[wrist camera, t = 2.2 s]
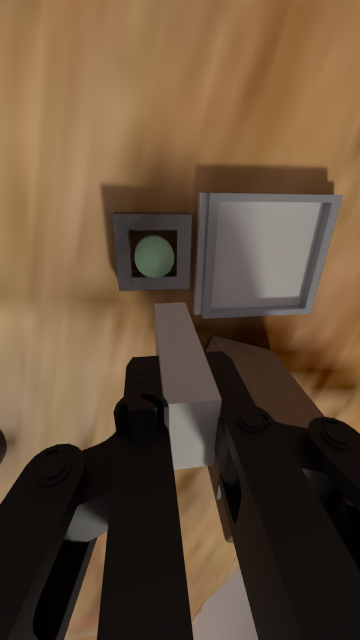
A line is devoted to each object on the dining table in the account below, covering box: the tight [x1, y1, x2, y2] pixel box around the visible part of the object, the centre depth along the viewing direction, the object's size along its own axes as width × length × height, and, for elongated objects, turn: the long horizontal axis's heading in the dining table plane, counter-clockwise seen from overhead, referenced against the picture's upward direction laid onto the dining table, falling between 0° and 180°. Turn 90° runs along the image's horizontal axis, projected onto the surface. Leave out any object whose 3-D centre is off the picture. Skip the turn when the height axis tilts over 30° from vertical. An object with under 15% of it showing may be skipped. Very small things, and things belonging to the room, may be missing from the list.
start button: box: [135, 234, 174, 278], centre depth 27 cm, size 4×4×2 cm
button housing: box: [112, 212, 192, 291], centre depth 29 cm, size 8×8×2 cm
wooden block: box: [206, 336, 325, 543], centre depth 30 cm, size 10×10×20 cm
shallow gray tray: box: [193, 193, 343, 319], centre depth 31 cm, size 16×14×2 cm
